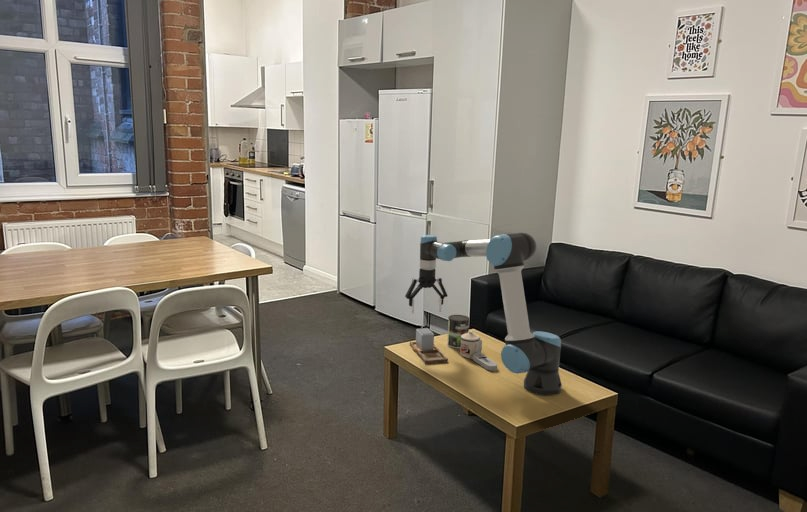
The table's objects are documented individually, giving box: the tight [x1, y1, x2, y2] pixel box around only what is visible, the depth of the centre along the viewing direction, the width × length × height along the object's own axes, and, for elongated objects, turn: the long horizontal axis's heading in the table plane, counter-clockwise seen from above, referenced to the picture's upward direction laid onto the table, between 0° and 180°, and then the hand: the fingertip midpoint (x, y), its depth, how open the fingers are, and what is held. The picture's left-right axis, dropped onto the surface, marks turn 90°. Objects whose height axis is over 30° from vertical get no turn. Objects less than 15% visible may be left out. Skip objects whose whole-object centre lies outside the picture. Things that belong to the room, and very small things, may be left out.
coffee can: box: [446, 314, 470, 350], centre depth 276 cm, size 10×10×14 cm
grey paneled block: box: [415, 327, 435, 350], centre depth 270 cm, size 9×6×8 cm, turn 16°
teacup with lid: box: [459, 330, 481, 359], centre depth 262 cm, size 12×9×12 cm
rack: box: [409, 341, 449, 365], centre depth 265 cm, size 24×11×2 cm, turn 16°
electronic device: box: [472, 339, 498, 371], centre depth 253 cm, size 5×10×15 cm
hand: (425, 311), depth 267 cm, fingers open, 13 cm apart
